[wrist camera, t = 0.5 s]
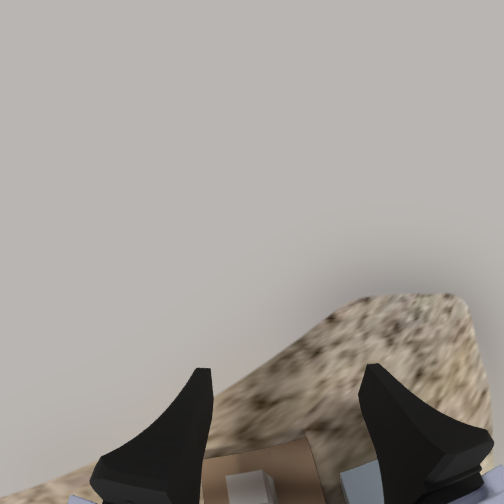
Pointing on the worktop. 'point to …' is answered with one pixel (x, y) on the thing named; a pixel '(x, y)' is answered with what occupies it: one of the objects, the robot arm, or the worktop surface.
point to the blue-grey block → (362, 484)
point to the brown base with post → (264, 476)
